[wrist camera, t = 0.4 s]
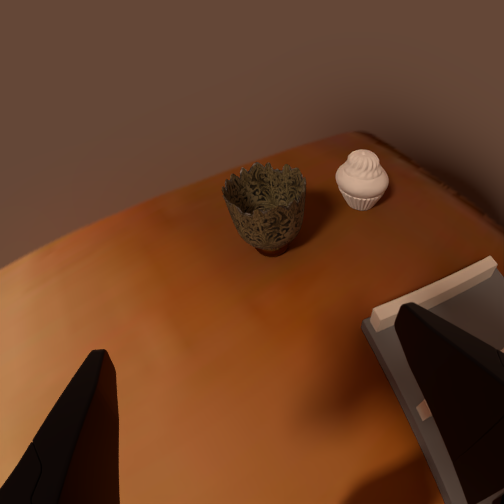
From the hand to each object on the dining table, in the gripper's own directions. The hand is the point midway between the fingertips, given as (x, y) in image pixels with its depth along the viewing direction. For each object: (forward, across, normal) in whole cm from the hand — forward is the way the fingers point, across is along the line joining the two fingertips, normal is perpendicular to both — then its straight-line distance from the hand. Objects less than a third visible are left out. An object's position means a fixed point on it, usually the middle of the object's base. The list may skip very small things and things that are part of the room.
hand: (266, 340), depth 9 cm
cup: (+22, -7, +11) cm, 25 cm away
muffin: (+25, -18, +8) cm, 32 cm away
